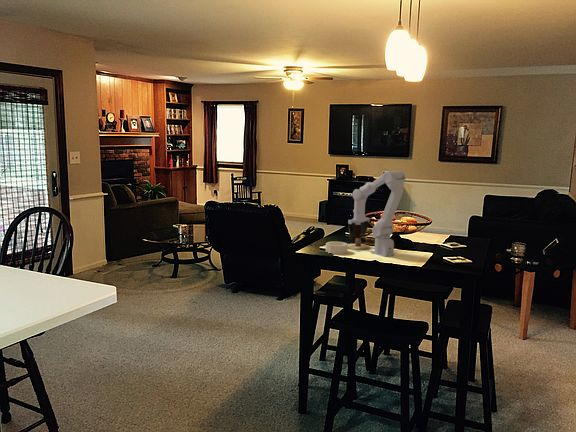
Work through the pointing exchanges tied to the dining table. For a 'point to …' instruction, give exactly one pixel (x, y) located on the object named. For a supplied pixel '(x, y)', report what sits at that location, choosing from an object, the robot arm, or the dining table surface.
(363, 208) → the robot arm
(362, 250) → the mat
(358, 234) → the coffee mug
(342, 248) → the bowl
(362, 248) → the lid
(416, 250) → the dining table surface
